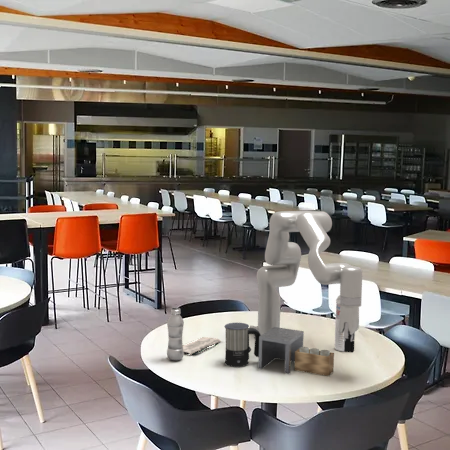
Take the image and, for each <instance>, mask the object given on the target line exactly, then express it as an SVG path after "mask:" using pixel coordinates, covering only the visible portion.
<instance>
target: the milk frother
mask: <svg viewBox="0 0 450 450" xmlns="http://www.w3.org/2000/svg"><path fill="white" fill-rule="evenodd" d="M224 328H225V356H224V364H225V366H229V367H231V368H232V367H234V368H240V367H241V368H242V367H245V366H248V365H249V364H250V363H249V360H250V352H251V351H252V348H251V346H250V335H253V336H254V335H255V338H254V349H253V354H254V356H255V358H259V336H261V335H260V333H259V331H258V330H256V329H254V328H250V325H249V324H247V323H244V322H230V323H226V324H225V325H224Z"/></svg>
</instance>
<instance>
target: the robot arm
mask: <svg viewBox="0 0 450 450" xmlns="http://www.w3.org/2000/svg"><path fill="white" fill-rule="evenodd" d="M332 226H333V221H332V218H331V216H330V215H329V213H327V212H326V211H323V210H321V211H319V210H318V211H316V210H315V211H314V210H285V211H284V210H283V211H276V212H274V213H273V214H271V216H270V217H269V232H268V233H269V234H268V238H267V243H266V247H265V252H264V260H265V262H266V264H268V265H264V266H261V267H260V268H259V269H258V270H257V272H256V284H257V291H258V295H257V296H258V300H257V303H258V304H257V305H258V306H257V308H258V309H257V310H258V311H257V326H254V325H249V328H254V329H256V330H258V331H259V333H260V335H262V334H264V333H266V332H267V331H269V330H270V329H272V328H274V327H278V328H281V327H280V326H281V325H280V324H281V295H280V293H279V292H278V291H277V288H283V287H289V286H290V287H291V286H292V285H294V284H295V282H296V280H297V276H298V272H299V268H300V265H301V261H302V260H301V259H302V252H301V251H302V250H301V247H300V246H299V244H298V243H296V242H292V241H290V233H300V235H301V237H302V238H303V240H304V241H305V243H306V245H307V247H308V248H309V252H308V256H307V262H308V267H309V270H310V272H311V273H312V275H313V277H314V279H315V280H316V281H317V282H318V283H319V284H320V285H325V286H327V285H337V284H339V295H340V305H341V311H340V322H339V333H342V332H344V340H345V342H344V351H345V353H354V352H355V337H356V332H357V331H358V330H359V327H360V307H362V296H363V295H362V292H363V289H362V288H363V270H362V268H361V267H359V266H355V265H352V264H350V263H348V262H333V263H332V262H331V263H330V262H329V263H324V261H323V260H322V258H321V257H320V254H321V253H323V252H325V251H326V250H327V248H329V246H330V245H331V238H330V236H329V235H328V234H327V233H328V232H330V231H331V229H332ZM253 338H254V339H255V335H254V334H253Z"/></svg>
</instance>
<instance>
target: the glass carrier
mask: <svg viewBox="0 0 450 450" xmlns="http://www.w3.org/2000/svg"><path fill="white" fill-rule="evenodd" d="M334 363H335V353H334V352H332V351H330V350H327V349H321V350H320V349H319V348H316V347H315V348H314V347H313V348H309V347H308V346H303V347H300V348H299V349H298V350H297V351H296V352H295V362H294V371H296V372H302V373H308V374H314V375H319V376H324V377H330V375H331V374H332V373H333V372H334V370H335V369H334Z"/></svg>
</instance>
